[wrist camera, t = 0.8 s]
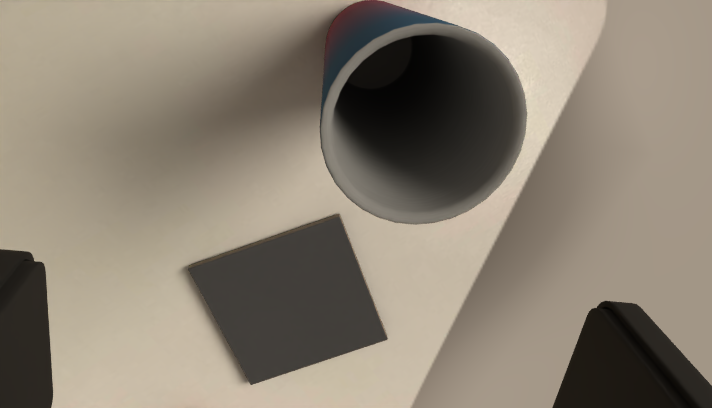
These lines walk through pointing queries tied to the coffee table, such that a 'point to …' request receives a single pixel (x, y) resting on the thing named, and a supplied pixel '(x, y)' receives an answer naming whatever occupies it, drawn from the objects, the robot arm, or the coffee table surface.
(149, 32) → the coffee table surface
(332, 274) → the coaster
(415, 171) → the cup
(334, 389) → the coffee table surface
